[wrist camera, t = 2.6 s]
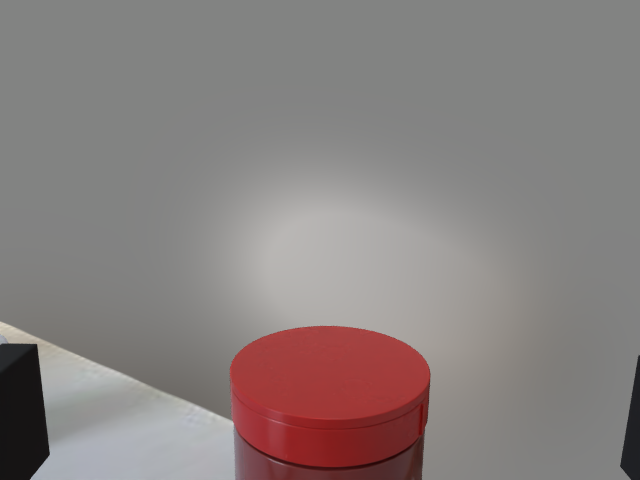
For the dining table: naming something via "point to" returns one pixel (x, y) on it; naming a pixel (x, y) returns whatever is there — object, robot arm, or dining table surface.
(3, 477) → the robot arm
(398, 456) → the jam jar
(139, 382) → the dining table surface
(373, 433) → the jam lid
